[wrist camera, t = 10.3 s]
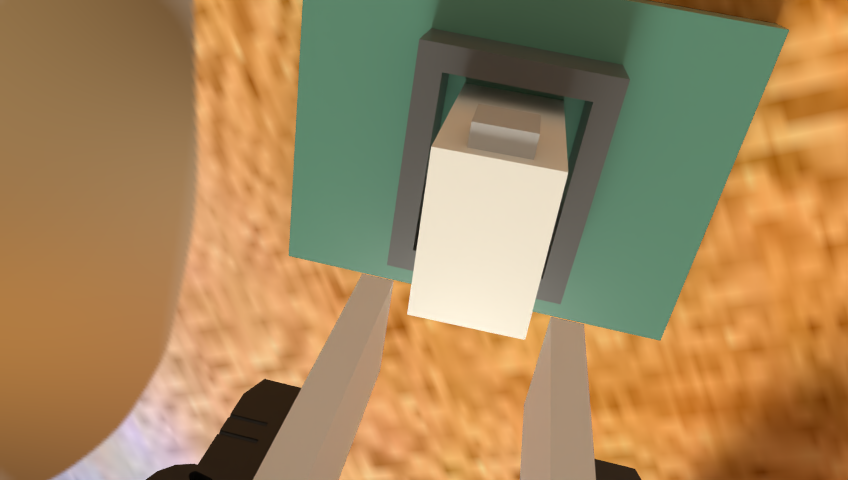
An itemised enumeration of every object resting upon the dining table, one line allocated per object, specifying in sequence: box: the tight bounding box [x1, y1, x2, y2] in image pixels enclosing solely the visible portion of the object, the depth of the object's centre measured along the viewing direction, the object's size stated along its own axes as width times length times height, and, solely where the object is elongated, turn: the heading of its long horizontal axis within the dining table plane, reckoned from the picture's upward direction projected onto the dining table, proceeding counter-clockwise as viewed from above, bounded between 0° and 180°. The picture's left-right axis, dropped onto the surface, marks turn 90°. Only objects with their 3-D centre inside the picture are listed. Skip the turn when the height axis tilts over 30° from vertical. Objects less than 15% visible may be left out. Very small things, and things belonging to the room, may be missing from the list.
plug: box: [407, 83, 568, 340], centre depth 23 cm, size 4×7×8 cm, turn 173°
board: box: [289, 0, 789, 340], centre depth 26 cm, size 18×14×4 cm
